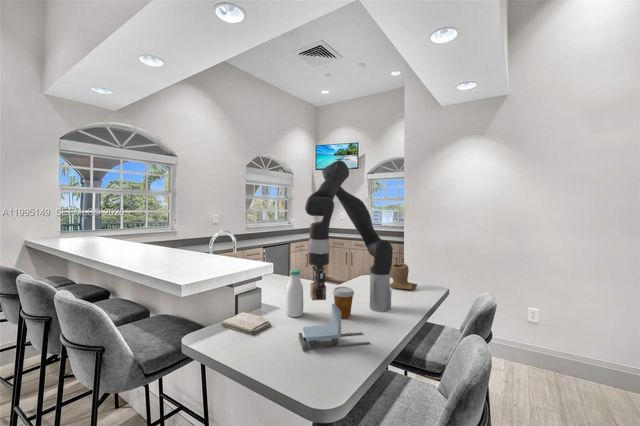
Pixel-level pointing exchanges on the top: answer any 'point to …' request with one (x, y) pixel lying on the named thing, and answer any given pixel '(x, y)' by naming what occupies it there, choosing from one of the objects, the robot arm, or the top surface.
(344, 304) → the disposable coffee cup
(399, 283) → the tan boot
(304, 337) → the rails
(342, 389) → the top surface
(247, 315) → the washcloth
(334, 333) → the pale blue l-shaped block
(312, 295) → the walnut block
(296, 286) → the milk bottle
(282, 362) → the top surface
